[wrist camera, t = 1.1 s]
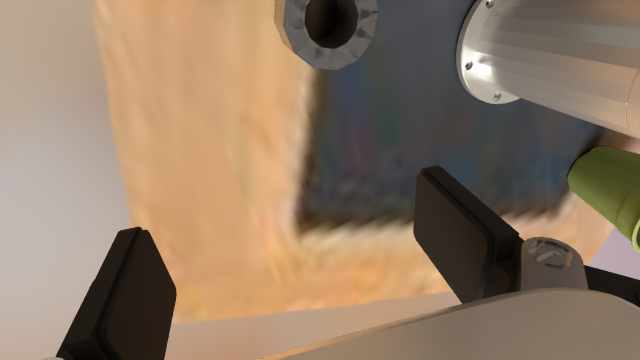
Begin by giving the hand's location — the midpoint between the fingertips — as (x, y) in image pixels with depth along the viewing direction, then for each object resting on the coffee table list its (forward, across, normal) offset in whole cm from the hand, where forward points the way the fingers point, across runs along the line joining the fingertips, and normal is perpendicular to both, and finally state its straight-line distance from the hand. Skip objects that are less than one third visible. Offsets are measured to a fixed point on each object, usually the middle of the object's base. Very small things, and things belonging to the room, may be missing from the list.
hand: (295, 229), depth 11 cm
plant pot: (+23, -43, +19) cm, 52 cm away
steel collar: (+22, -6, -5) cm, 23 cm away
